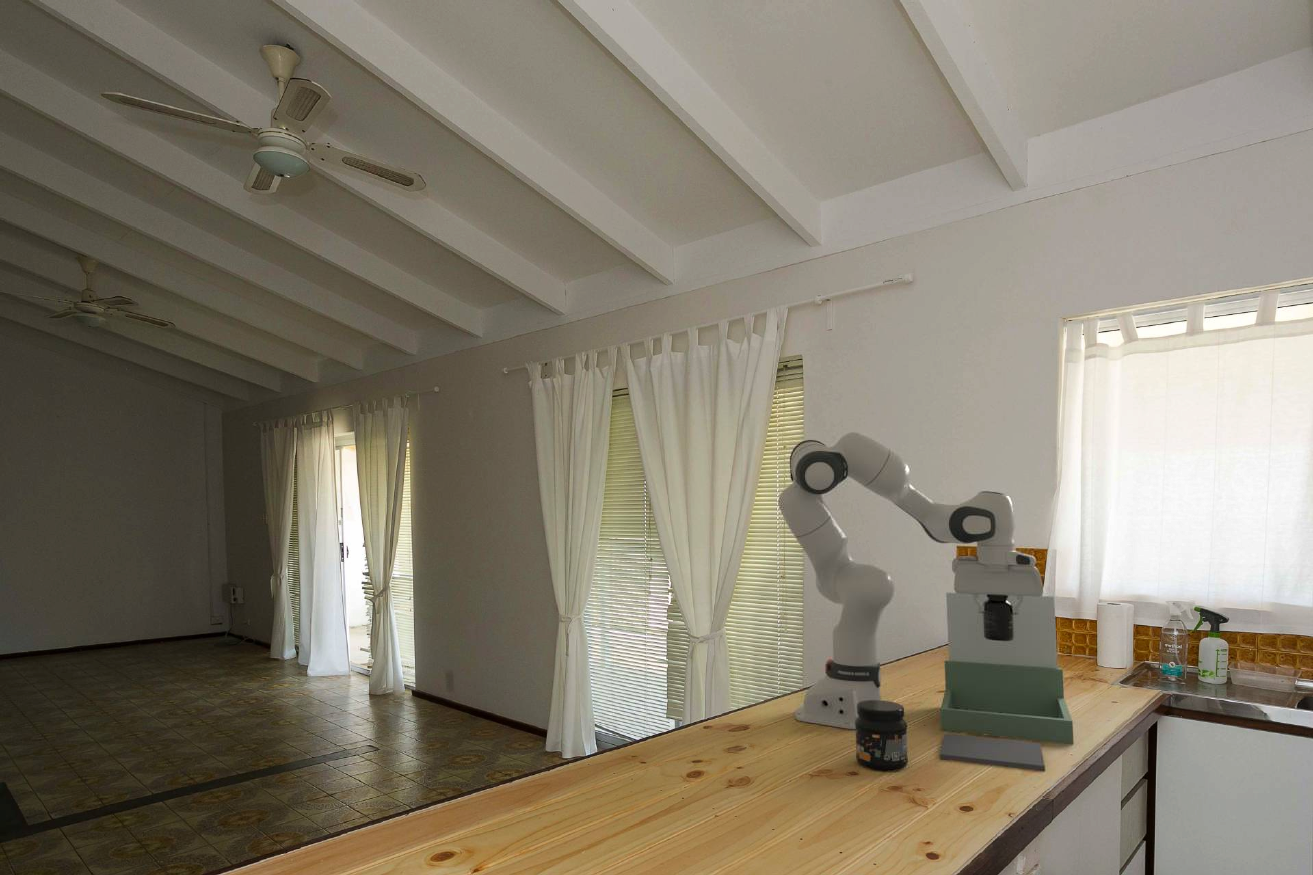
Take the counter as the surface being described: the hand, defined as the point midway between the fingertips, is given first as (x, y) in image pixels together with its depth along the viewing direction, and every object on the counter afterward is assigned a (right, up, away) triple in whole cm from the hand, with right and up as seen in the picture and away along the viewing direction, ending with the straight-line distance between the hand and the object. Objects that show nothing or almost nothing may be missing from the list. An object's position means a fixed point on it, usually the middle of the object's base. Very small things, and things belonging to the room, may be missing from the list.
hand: (998, 613), depth 193 cm
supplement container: (-37, -25, -30) cm, 54 cm away
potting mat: (-12, -25, -24) cm, 36 cm away
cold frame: (+1, -27, -1) cm, 27 cm away
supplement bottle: (0, -7, 0) cm, 7 cm away
